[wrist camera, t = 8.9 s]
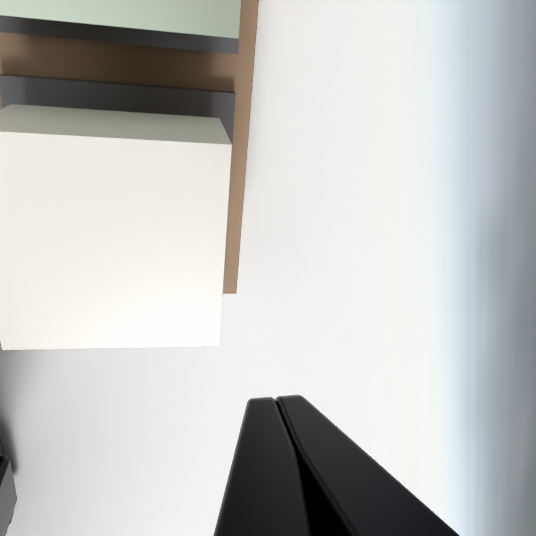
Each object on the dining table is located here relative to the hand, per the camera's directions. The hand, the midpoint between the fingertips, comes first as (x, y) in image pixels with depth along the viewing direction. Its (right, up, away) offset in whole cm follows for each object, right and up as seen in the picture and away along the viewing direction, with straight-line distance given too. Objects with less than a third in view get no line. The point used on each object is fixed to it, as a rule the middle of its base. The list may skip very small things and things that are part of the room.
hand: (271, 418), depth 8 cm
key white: (-4, +4, +6) cm, 8 cm away
